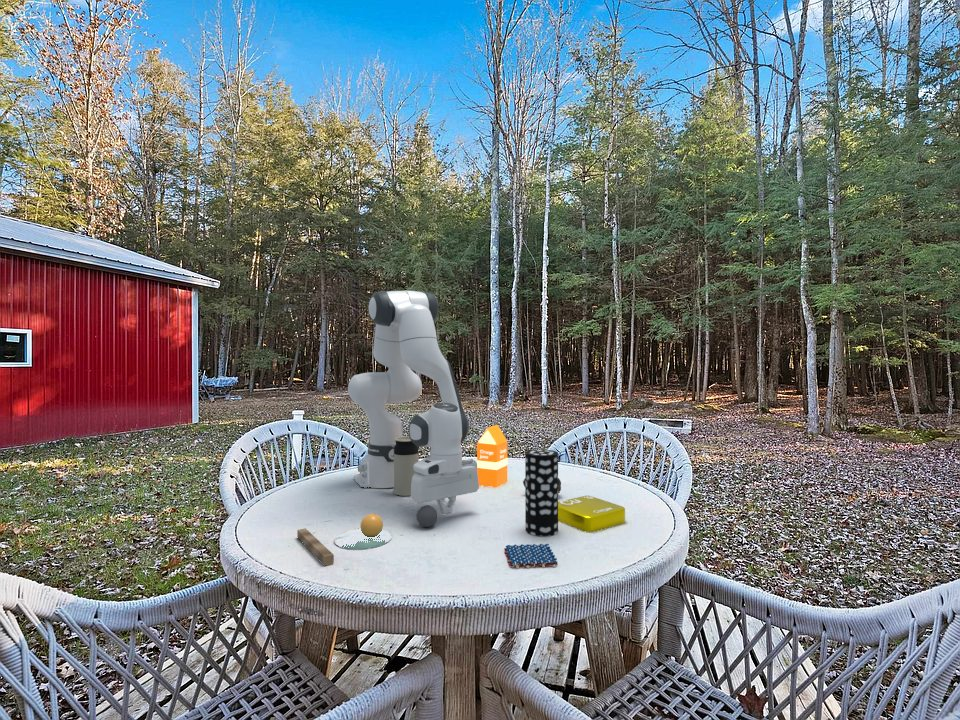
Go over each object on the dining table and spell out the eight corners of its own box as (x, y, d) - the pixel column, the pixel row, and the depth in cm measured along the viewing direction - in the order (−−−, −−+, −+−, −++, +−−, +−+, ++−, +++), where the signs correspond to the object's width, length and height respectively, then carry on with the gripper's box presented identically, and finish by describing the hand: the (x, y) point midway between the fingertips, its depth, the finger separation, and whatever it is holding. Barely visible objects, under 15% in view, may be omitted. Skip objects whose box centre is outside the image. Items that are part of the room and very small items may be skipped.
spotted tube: (536, 522, 132) (536, 448, 132) (564, 529, 127) (564, 452, 126) (519, 531, 126) (518, 453, 125) (547, 539, 120) (547, 457, 120)
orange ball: (372, 507, 125) (380, 525, 127) (353, 519, 122) (361, 537, 124) (381, 512, 121) (389, 531, 122) (362, 525, 118) (370, 544, 119)
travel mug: (416, 496, 156) (416, 440, 156) (391, 496, 156) (391, 440, 156) (420, 489, 164) (420, 436, 164) (396, 489, 164) (396, 436, 164)
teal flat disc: (325, 536, 122) (325, 535, 122) (377, 524, 131) (377, 523, 131) (346, 554, 111) (346, 553, 111) (402, 540, 119) (402, 539, 119)
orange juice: (476, 484, 170) (476, 427, 170) (488, 479, 178) (488, 424, 178) (497, 487, 167) (497, 428, 166) (507, 481, 174) (507, 425, 174)
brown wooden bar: (297, 538, 121) (297, 530, 121) (305, 536, 122) (305, 528, 122) (324, 566, 105) (324, 556, 105) (333, 563, 106) (333, 554, 106)
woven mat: (503, 552, 114) (503, 543, 114) (548, 550, 115) (548, 542, 115) (508, 572, 103) (508, 562, 103) (558, 570, 104) (558, 561, 104)
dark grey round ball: (429, 497, 131) (427, 512, 134) (412, 507, 128) (411, 522, 130) (442, 509, 128) (441, 524, 131) (426, 519, 124) (424, 535, 127)
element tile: (588, 535, 124) (588, 516, 124) (548, 518, 137) (548, 501, 137) (628, 523, 132) (628, 506, 132) (587, 509, 145) (587, 492, 145)
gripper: (470, 456, 144) (470, 503, 144) (407, 465, 131) (408, 517, 132) (483, 459, 138) (483, 508, 139) (419, 470, 126) (419, 523, 127)
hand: (446, 513), depth 135 cm, fingers closed
